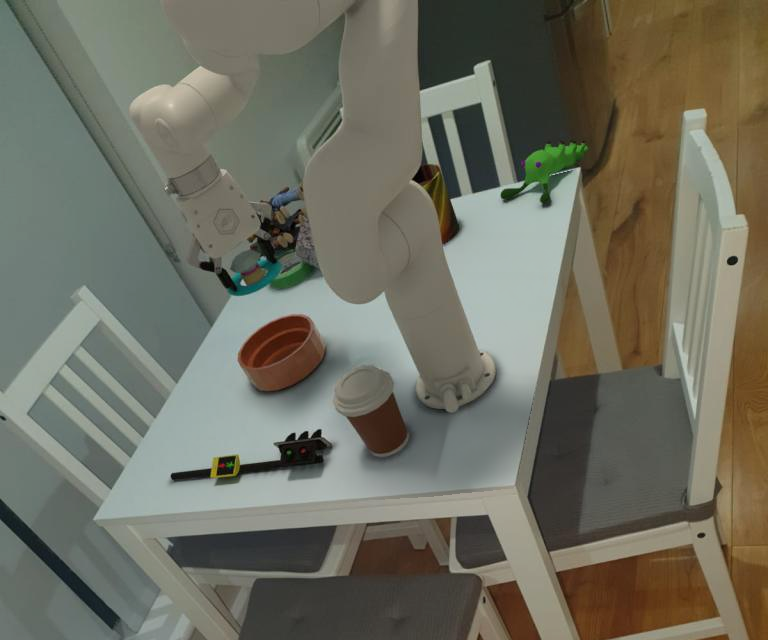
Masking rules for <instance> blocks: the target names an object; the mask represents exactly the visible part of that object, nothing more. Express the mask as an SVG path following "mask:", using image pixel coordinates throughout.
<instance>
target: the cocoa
mask: <svg viewBox="0 0 768 640" xmlns="http://www.w3.org/2000/svg"><path fill="white" fill-rule="evenodd" d="M394 386H395V382H394V380H393V378H392V375H391V374H390V372H388V371H386V370H384V369H382V368H379V367H378V366H375V365H373V364H363V365H360V366H356V367H353V368H352V369H350V370H348V371H347V372H345V373H344V374H343V375H342V376H341V377H340V378H339V380H338V381H337V382H336V384H335V388H334V395H333V399H332V404H333V406H334V408H335V411H336V413H338V414H340V415H341V416H343V417H345V418H346V419H347V420H348V422H349V423H350V424H351V426H352V427H353V429H354V431H356V433H357V435H358V436H359V438H360V439H361V440H362V441H363V443H364V444H365V446H366V447H367V449H368V450H369V451H370V454H372V455H374V456H375V457H380V458H385V457H390V456H393V455H395V454H396V453H398V452H400V451H401V450H403V448H404V447H405V446H406V445H407V443H408V441H409V439H410V433H409V430H408V429H407V428H408V427H407V425H406V423H405V420H404V417H403V415H402V413H401V410H400V407H399V405H398V402H397V400H396V396H395V394H394Z"/></svg>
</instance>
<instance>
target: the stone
mask: <svg viewBox="0 0 768 640" xmlns="http://www.w3.org/2000/svg"><path fill="white" fill-rule="evenodd" d="M300 226H301V227H300V232H299V236H298V239H297V242H296V247H295V248H296V249H295V250H296V255H297V256H298V257H299V258H301V259H302V260H303V261H304V262H306V263H308V264H310V265H312V266H315V269H317V270H320V267H319V264H318V260H317V256H316V252H315V247H314V243H313V238H312V233H311V228H310V224H309V219H307V218H306V219H305V222H304V223H303V224H302V225H300Z"/></svg>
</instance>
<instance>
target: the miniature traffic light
mask: <svg viewBox="0 0 768 640" xmlns="http://www.w3.org/2000/svg"><path fill="white" fill-rule="evenodd" d="M322 431H323V430H322V428H318V429H316V430H315V431H314V432H313V433H312V434H311V436H310V437H309V435H310V433H309V430H305V431H303V432H302V433H300V434H299V436H298V438H297V435H296V432H291V433H290V434H288V435H287V436H286V437H285V439H284V440H283V441H276V442H273V446H274V447H276V448H278V450H279V453H280V458H279V459H278V460H277V459H276V460H269V461H268V460H267V461H261V462H260V461H259V462H251V463H245V464H244V463H243V464H241V460H240V456H239V454H230V455H221V456H213V458H212V463H211V467H210V468H202V469H194V470H185V471H177V472H172V473H171V474H170V479H171V481H178V480H187V479H195V478H204V477H210V479H220V478H228V477H236V476H237V474H239V473H240V474H241V473H248V472H258V471H265V470H275V469H282V468H292V467H300V466H301V467H302V466H308V465H318V464H324V462H325V461H324V460H325V458H324V455H323V454H324V450H325V449H327V448H328V447H329V448H330V447H332V446H333V444H332V443H331V442H330V441H329V440H327V439H326V438H325V437H323V436H322V434H323V432H322ZM317 451H321V453H320V454H317Z"/></svg>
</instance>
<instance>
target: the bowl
mask: <svg viewBox="0 0 768 640" xmlns="http://www.w3.org/2000/svg"><path fill="white" fill-rule="evenodd" d="M325 352H326V342H325V340H324V339H323V337H322V335H321V334H320V331H319V330H318V328H317V326H316V324H315V323H314V321H313V320H312V318H311V317H310V316H308V315H305V314H303V313H291V314H287V315H282V316H280V317H278V318H275V319H272V320H271V321H268V322H267V323H265V324H264V325H262V326H261V327H259V328H257V329H256V330H255V331H254V332H253V333H252V334H250V335H249V336H248V337H247V338H246V340H245V341H244V342H243V343H242V344H241V347H240V348H239V350H238V353H237V362H238V364H239V367H240V368H241V369H242V371H243V372H244V374H245V376H246V377H247V378H248V381H250V383H251V384H252V386H253V388H256V389H257V390H260V391H263V392H274V391H279V390H283V389H286V388H289V387H290V386H293V385H295V384H297V383H299V382H300V381H302V380H303V379H305V378H307V376H308V375H310V374H311V373H312V372H313V371H314V370H316V369H317V367H318V366H319V364H320V363H321V362H322V361H323V357H324V356H325Z"/></svg>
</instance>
